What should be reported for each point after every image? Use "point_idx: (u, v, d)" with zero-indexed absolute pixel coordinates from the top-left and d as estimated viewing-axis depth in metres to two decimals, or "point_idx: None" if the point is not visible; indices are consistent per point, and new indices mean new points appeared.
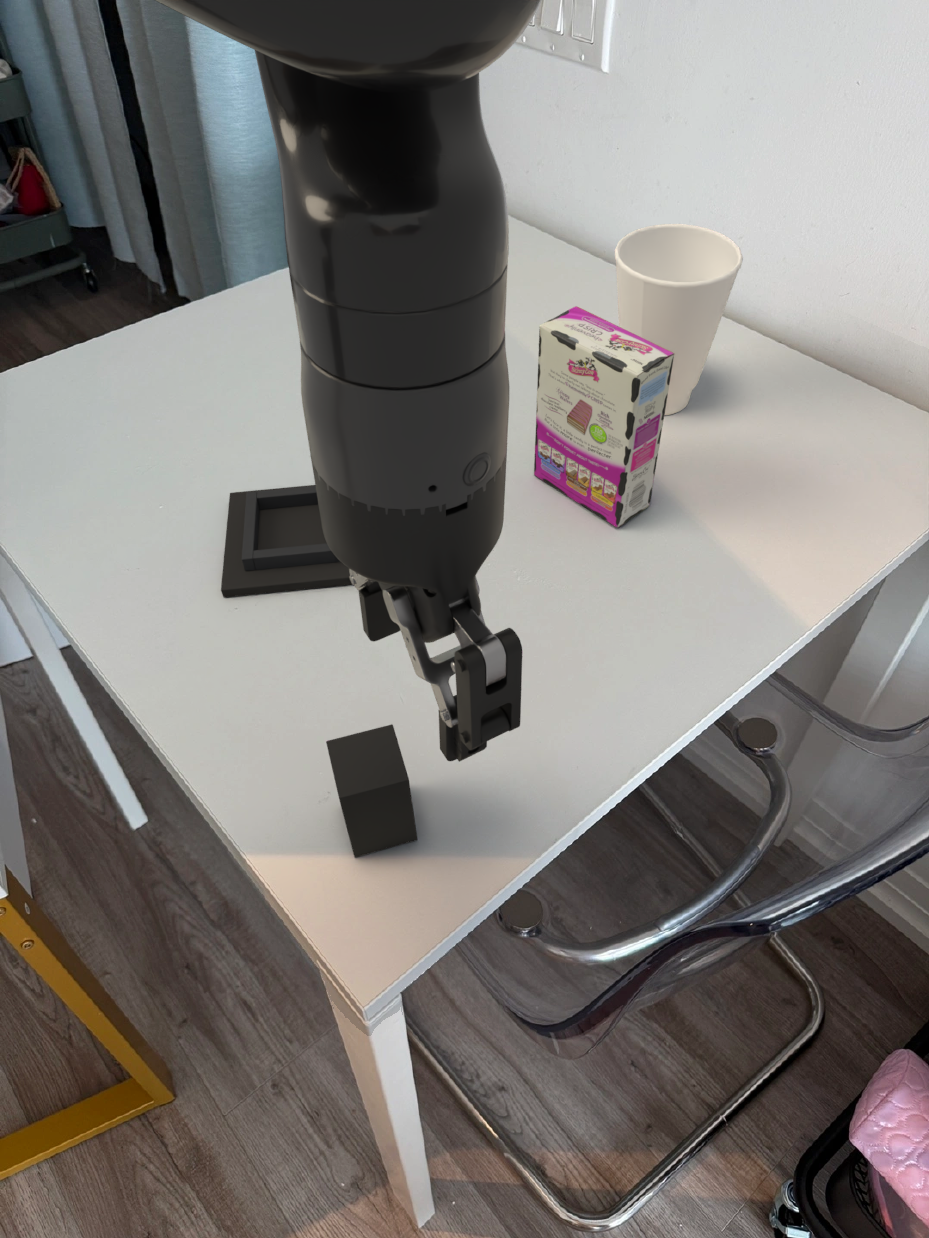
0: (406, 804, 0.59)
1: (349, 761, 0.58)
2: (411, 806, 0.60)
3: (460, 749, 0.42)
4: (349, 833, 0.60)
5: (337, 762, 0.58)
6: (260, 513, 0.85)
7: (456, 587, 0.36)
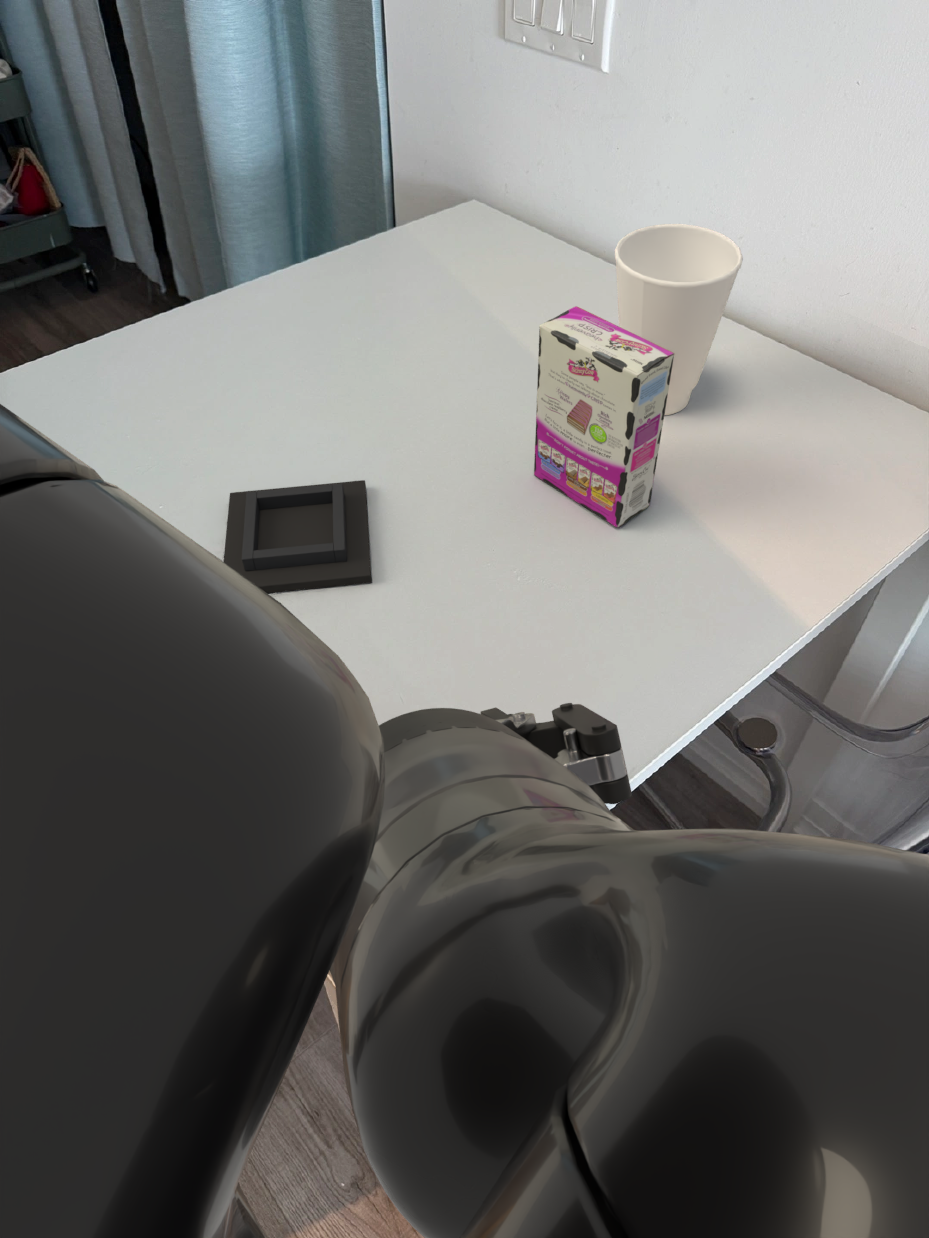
0: None
1: None
2: None
3: None
4: None
5: None
6: (260, 513, 0.85)
7: None
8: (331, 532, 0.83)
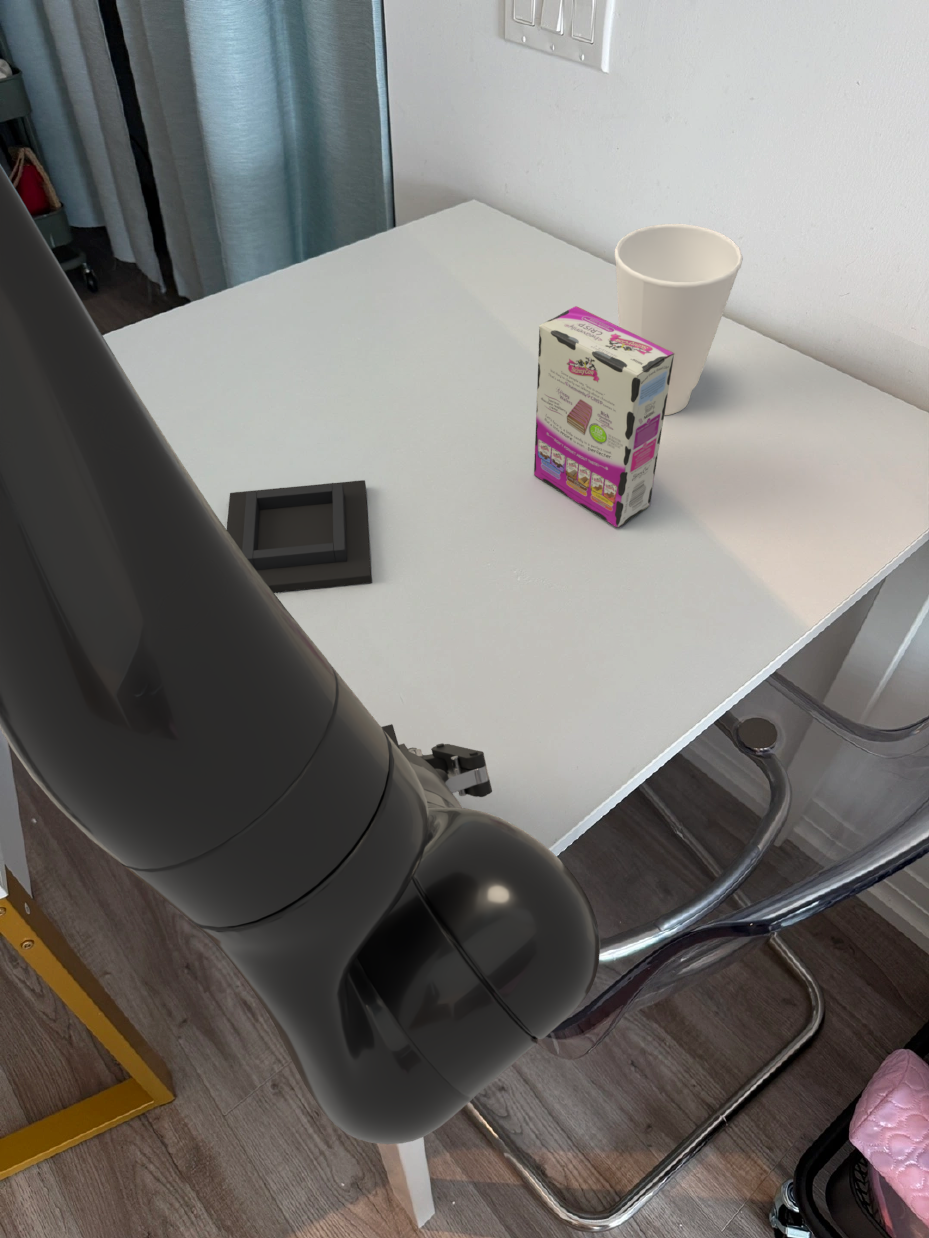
0: None
1: None
2: None
3: None
4: None
5: None
6: (260, 513, 0.85)
7: None
8: (331, 532, 0.83)
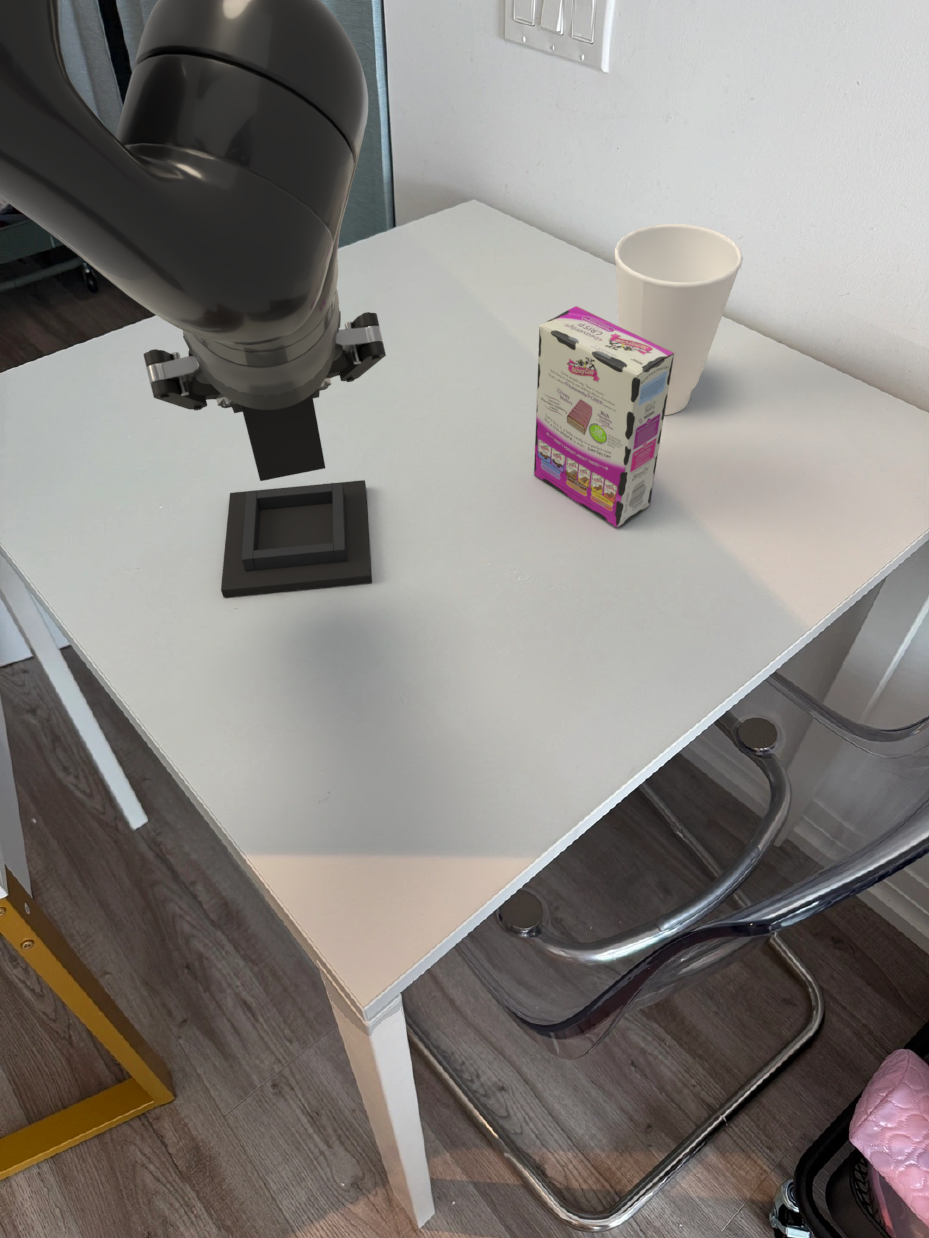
0: (308, 406, 0.58)
1: None
2: (313, 411, 0.59)
3: None
4: (251, 440, 0.59)
5: None
6: (260, 513, 0.85)
7: None
8: (331, 532, 0.83)
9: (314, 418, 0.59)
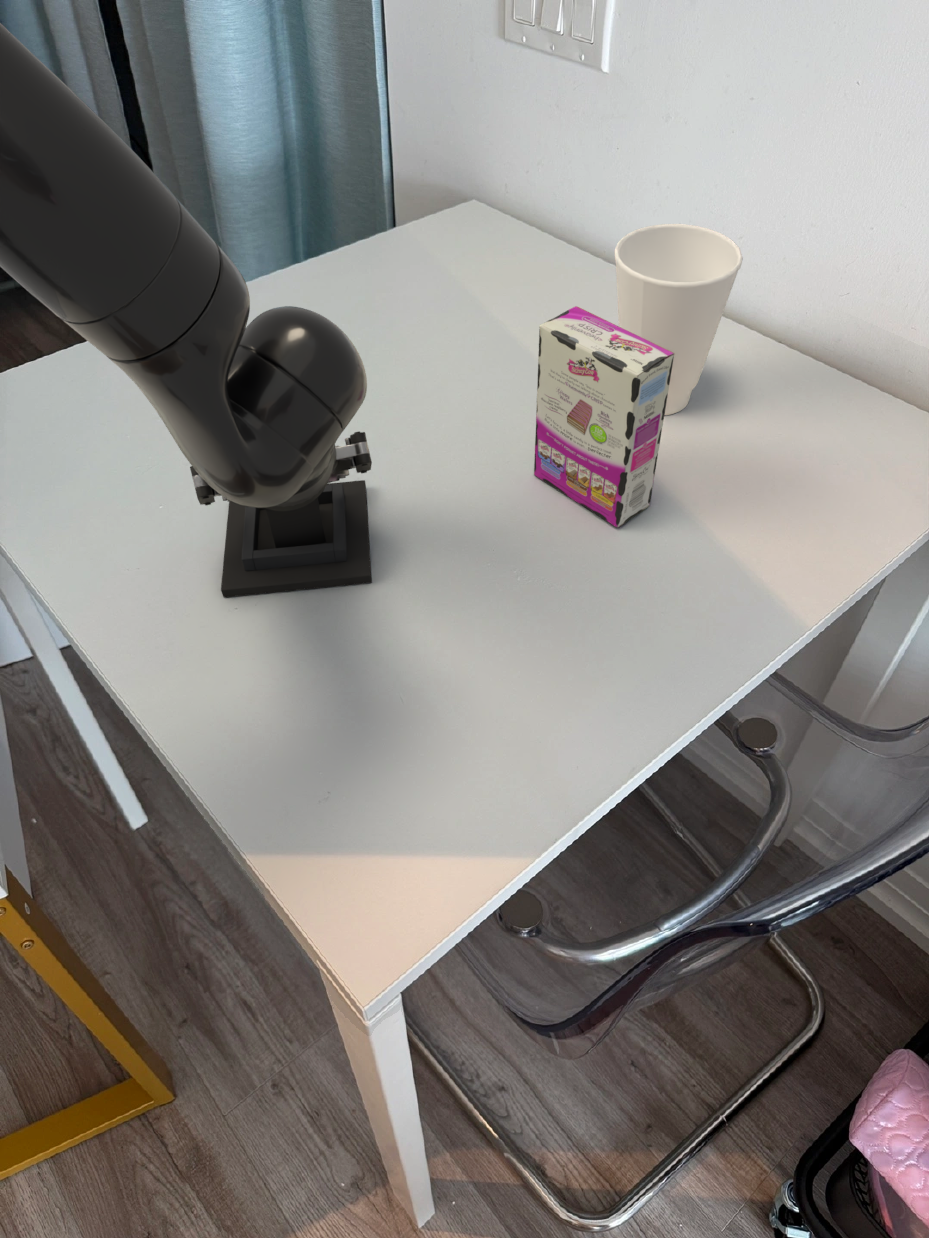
0: None
1: None
2: (317, 503, 0.78)
3: None
4: (270, 524, 0.79)
5: None
6: (260, 513, 0.85)
7: None
8: (331, 532, 0.83)
9: (317, 507, 0.79)
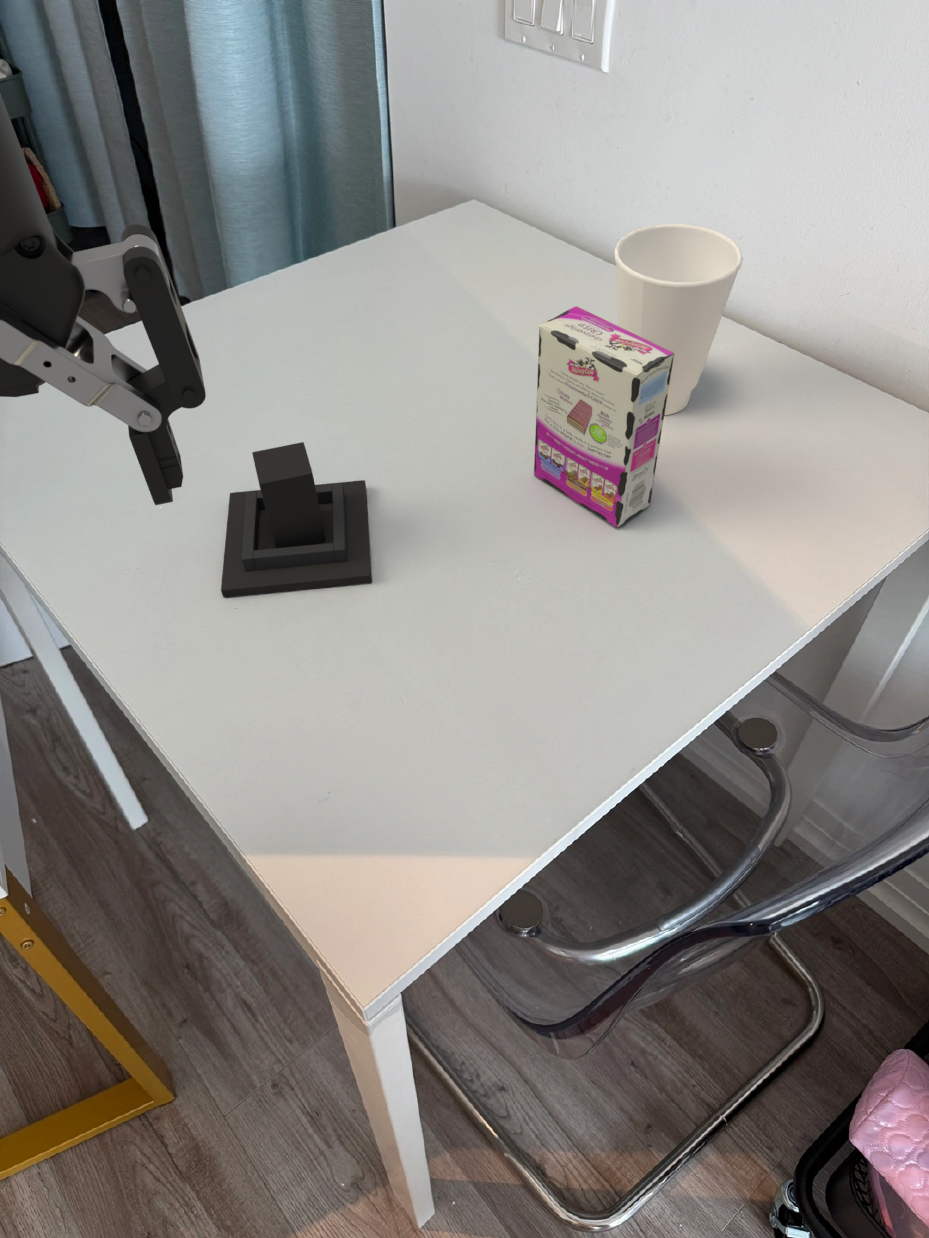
0: (313, 499, 0.78)
1: (268, 463, 0.77)
2: (317, 503, 0.78)
3: None
4: (270, 524, 0.79)
5: (259, 464, 0.77)
6: (260, 513, 0.85)
7: None
8: (331, 532, 0.83)
9: (317, 507, 0.79)
